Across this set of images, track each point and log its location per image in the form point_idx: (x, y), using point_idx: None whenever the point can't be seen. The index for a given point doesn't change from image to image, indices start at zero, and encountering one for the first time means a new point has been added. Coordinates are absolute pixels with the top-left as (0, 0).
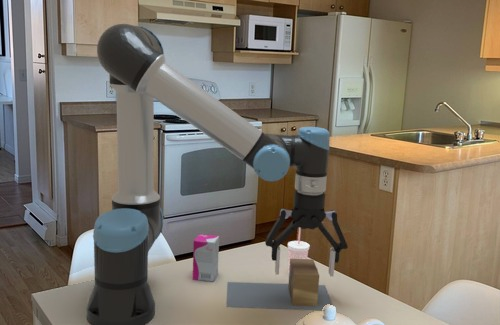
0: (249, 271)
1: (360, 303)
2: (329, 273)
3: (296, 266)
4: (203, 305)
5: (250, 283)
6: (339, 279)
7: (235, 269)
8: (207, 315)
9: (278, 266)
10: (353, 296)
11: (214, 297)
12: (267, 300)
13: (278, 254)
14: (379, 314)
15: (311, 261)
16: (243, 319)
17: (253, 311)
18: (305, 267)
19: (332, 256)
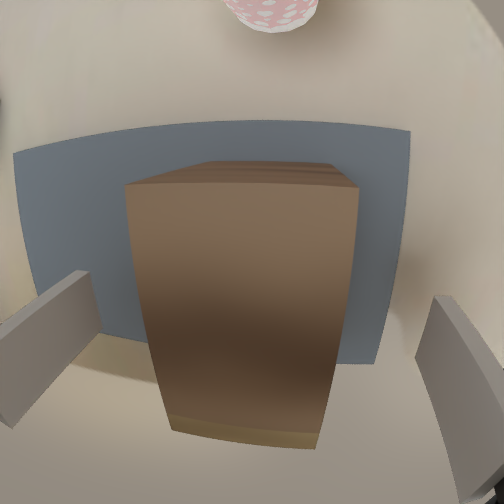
0: (75, 24)
1: (489, 290)
2: (425, 331)
3: (176, 346)
4: (10, 292)
5: (64, 148)
6: (479, 60)
7: (39, 30)
8: None
9: (73, 353)
10: (492, 233)
11: (12, 250)
12: (128, 290)
13: (24, 402)
14: (496, 353)
15: (327, 245)
16: (95, 367)
17: (105, 336)
18: (245, 365)
19: (455, 468)
